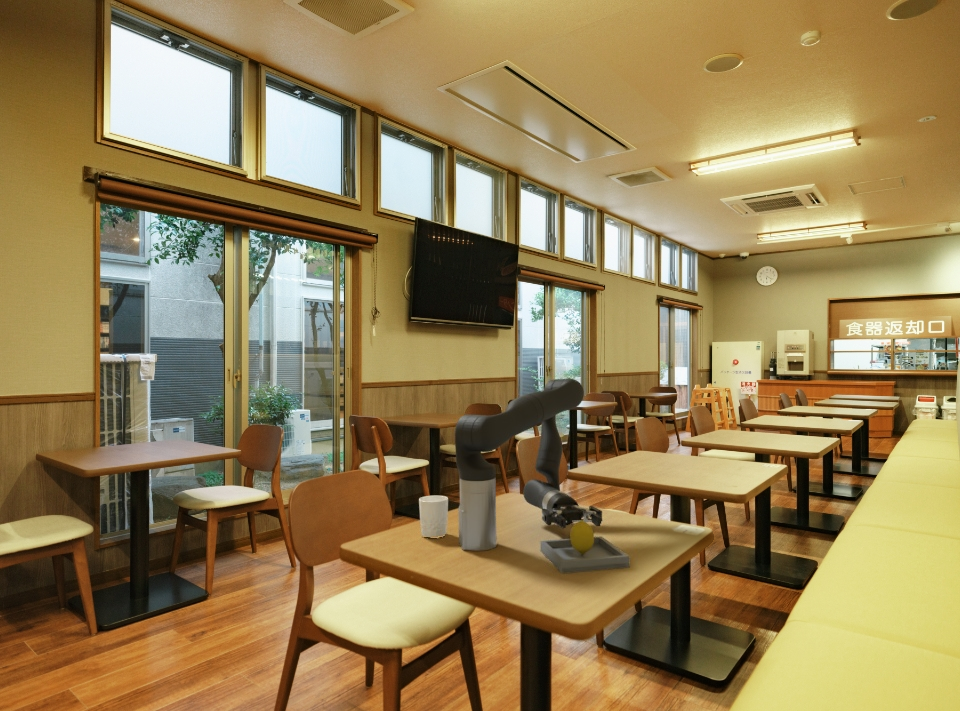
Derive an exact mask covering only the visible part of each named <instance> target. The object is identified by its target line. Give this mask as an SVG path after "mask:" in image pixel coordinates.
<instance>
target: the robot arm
mask: <svg viewBox="0 0 960 711" xmlns="http://www.w3.org/2000/svg"><path fill="white" fill-rule="evenodd" d="M584 392H585V391H584V387H583V385H582V384H581V383H580V382H579V381H578V380H577V379H574V378H560V379H559V378H558V379H556V378H555V379H550V380H548V381H547V383H546V384H545V385H544V389H543V390H540V391H536V392H529V393H526V394H524V395H523V394H522V395H521V396H519V397H517V398H514V399H512V400H511V401H510V402H509V403H508V404H507V405H506V407H505V411H503V412H501V413H498V414H493V415H492V414H491V415H484V414H464V415H462V416H461V417H460V418H459V419H458V421H457V422H456V425H455V430H454V446H455V462H456V468H457V470H458V474H459V506H458V544H459V543H460V544H459V546H460V545H461V546H460V547H462V548H461V550H462V549H463V551H468V550H469V551H474V552H475V551H476V552H477V551H487V550H488V551H489V550H491V549H495V548H496V547H497V543H498V542H497V539H498V538H497V494H496V493H497V490H496V488H497V486H496V480H497V479H496V467H495V466H494V465H493V464H492V463H489V462H488V461H487V460H486V459H485V458H484V456H483V455H482V453H488V452H492V451H494V450H496V449H498V448H499V447H501V446H502V445H503V444H505V443H506V442H508V441H509V440H510V439H512V438H513V437H516V436H517V435H519V434H522V433H524V432H526V431H527V430H530V429H532V428H534V427H535V426H538V425H540V424H541V428H540V429H541V430H540V439H539V440H540V441H539V447H538V451H537V456H536V461H535V466H534V469H535V470H536V472H537V473H538V474H541V475H542V476H544V478H545V480H546V481H543V480H540V479H534V478H533V479H530V480H528V481H527V482H526V483H525V485H524V486H523V491H522V492H523V493H522V494H523V498H524V500H525V502H526V503H528V504H529V505H531V506H534V507H535V508H539V509H541V520H542V521H543V523H544V524H545V525H547V526H551V525H552V524H554V525H555V526H558V527H560V528H561V529H566V528H567V526H569V525H572V524H573V523H577V522H580V521H581V520H583V521H584V522H586V523H591V524H593V525H594V526H596V527H600V526H601V525H602V522H603V510H601V509H599V508H598V507H595V506H594V505H589V506H588V507H582V506H579V504H578V502H577V501H576V500H575V498H574V497H572V496H570V495H569V494H567V493H566V492H564V491H561V486H560V485H561V484H560V465H561V459H562V455H563V442H562V439H561V435H560V433H559V429H558V428H557V423H556V418H557V415H558V414H561V413H562V412H566V411H570V410H573V409H576V408H577V407H579V406H580V404H581V403H582V402H583V399H584V396H585V393H584Z"/></svg>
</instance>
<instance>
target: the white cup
mask: <svg viewBox="0 0 960 711" xmlns="http://www.w3.org/2000/svg"><path fill="white" fill-rule="evenodd" d="M418 505H419V506H418V508H419V522H420V530H421V536H422V535H423V536H427V537H438V536H443V535H445V534H446V533H447V530H448V528H447V526H448V513H449V512H448V511H449V498H448V496H445V495H433V494H432V495H426V496H422V497H421V496H420V497H419V498H418ZM447 534H448V533H447Z"/></svg>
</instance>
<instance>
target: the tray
mask: <svg viewBox="0 0 960 711" xmlns="http://www.w3.org/2000/svg"><path fill="white" fill-rule="evenodd" d="M539 542H540V543H539V544H540V552H541V553H542V555H543V556H545V558H547V560H548V561H549V562H550V561H551V562H552V563H553V564H552V563H551V562H550V563H551V564H552V565H553V566H554V567H555V568H556V569H557V570H558V571H559V572H560V573H561V574H568V573H569V574H571V573H580V572H592V571H593V572H594V571H605V570H615V569H616V570H617V568H618V569H627V568H628V567H629V568H630V567H631V566H630V565H631V563H630V562H631V560H630V559H631V558H630V555H628V554H627V553H625V552H624V551H623V550H621V549H620V548H619V547H617V546H616V545H614V544H613V543H611V541H609V540H608V539H606V538H605V537H603V536H601V535H599V536H594V543H593V546H592V548H591V549H590V550H589V551H587V552H585V554H581V553H580V552H578V551H576V550H575V549H574V548H573V546H572V544H571V540H570V538H563V539H562V538H561V539H550V540H549V539H548V540H540V541H539Z"/></svg>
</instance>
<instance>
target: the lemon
mask: <svg viewBox="0 0 960 711" xmlns="http://www.w3.org/2000/svg"><path fill="white" fill-rule="evenodd" d="M569 534H570V535H569V539H570V540H571V544H572V546H573V548H574V549H575V550H576V551H578V552H580V553H581V554H585V552H587V551H589V550H590V549H591V548H592V546H593V543H594V537H595V534H594V531H593V528H592V526H591V525H590V524H589V522H587V523H586V522H584V521H583V520H581V521H580V522H575V523H574V524H573V525H572V527H571V529H570V533H569Z"/></svg>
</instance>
